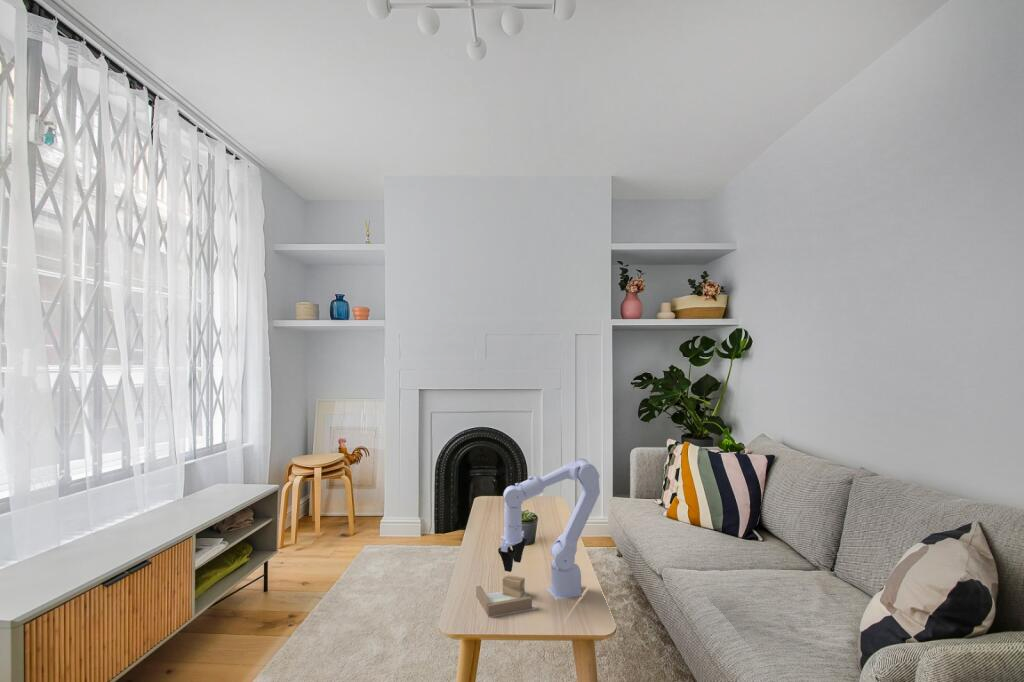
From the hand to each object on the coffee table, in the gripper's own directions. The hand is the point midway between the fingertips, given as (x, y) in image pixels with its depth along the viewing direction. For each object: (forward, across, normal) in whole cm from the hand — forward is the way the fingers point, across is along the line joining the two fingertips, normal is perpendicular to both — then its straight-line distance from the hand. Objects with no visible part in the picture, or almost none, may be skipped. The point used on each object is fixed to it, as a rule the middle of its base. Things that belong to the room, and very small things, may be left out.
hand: (512, 566), depth 161 cm
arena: (+9, +6, 0) cm, 11 cm away
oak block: (+9, 0, 0) cm, 9 cm away
